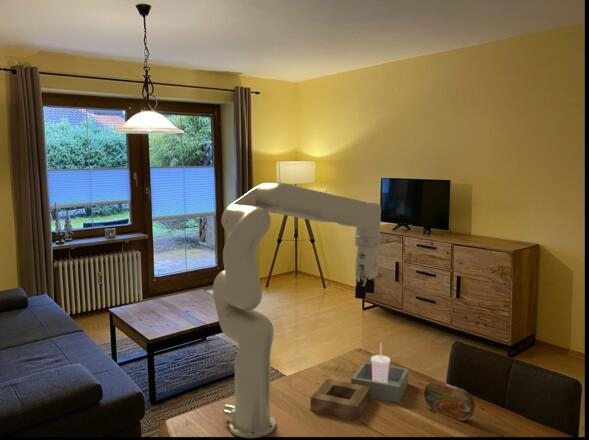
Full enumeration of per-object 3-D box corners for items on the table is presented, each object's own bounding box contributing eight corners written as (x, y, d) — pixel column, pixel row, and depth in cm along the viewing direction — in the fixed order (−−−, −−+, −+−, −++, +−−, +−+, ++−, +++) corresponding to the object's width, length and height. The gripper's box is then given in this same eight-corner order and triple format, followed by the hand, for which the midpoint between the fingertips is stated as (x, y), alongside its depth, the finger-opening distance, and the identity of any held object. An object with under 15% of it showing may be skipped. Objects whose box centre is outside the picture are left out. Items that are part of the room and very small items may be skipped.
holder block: (310, 410, 138) (310, 397, 138) (326, 391, 151) (327, 378, 151) (357, 420, 133) (357, 406, 132) (370, 399, 145) (370, 387, 145)
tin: (423, 406, 142) (424, 378, 141) (429, 402, 144) (430, 376, 143) (470, 426, 130) (471, 396, 130) (476, 422, 133) (477, 393, 132)
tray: (351, 393, 149) (351, 378, 149) (363, 375, 163) (364, 361, 163) (398, 402, 143) (399, 387, 143) (408, 383, 157) (408, 369, 157)
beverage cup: (366, 386, 153) (367, 343, 151) (376, 380, 157) (377, 338, 156) (383, 391, 149) (385, 348, 148) (392, 385, 153) (394, 343, 152)
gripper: (371, 245, 140) (368, 302, 141) (385, 240, 156) (383, 292, 157) (347, 243, 143) (344, 299, 144) (363, 238, 159) (361, 289, 160)
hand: (364, 295), depth 150 cm, fingers open, 9 cm apart
